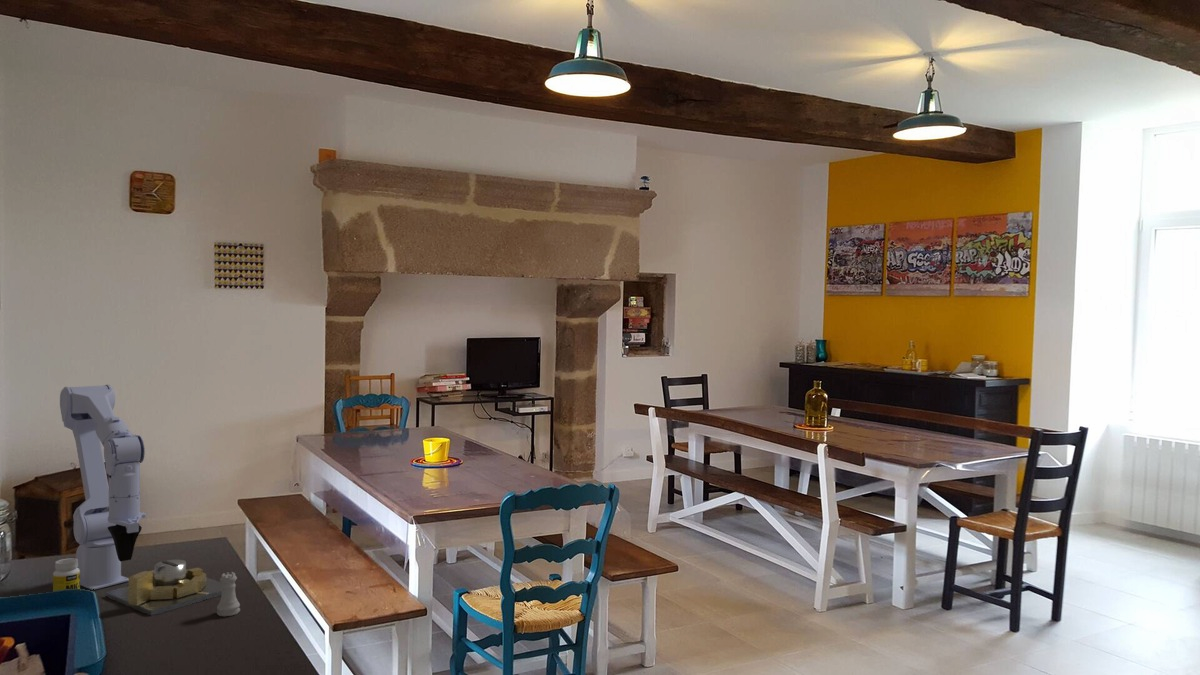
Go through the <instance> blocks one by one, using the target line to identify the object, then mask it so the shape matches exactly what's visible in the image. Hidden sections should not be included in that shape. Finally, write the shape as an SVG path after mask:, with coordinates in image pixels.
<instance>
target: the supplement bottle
mask: <svg viewBox="0 0 1200 675" xmlns="http://www.w3.org/2000/svg"><path fill="white" fill-rule="evenodd" d="M54 564H55V566H54V569H55V570H54V571H53V573H52V592H53V591H57V590H64V589H80V590H81V585H80V570H79V568H77V567H78V559H76V557H75V558H74V557H73V558H70V557H69V558H61V559H59V560H56V561H55V562H54Z"/></svg>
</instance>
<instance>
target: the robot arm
mask: <svg viewBox="0 0 1200 675" xmlns="http://www.w3.org/2000/svg"><path fill="white" fill-rule="evenodd" d="M115 404H116V395H115V390H114V388H113V387H112V385H110V384H105V385H89V386H85V385H84V386H70V387H69V386H64V387H63V388H62V389H61V391H60V395H59V408H60V415H61V420H62V421H61V422H63V427H64V428H67V429H69V430H71V431H72V434H73V437H74V440H75V446H76V447H75V448H76V451H77V457H78V458H77V459H78V463H79V469H80V475H81V482H82V487H83V488H82V489H83V493H84V498H85V500H84V501H83V502H82V503H81V504H80V505H79V506H77V507H76V508H75V510H74V513H73V515H72V518H73V526H72V528H73V529H72V530H73V536H74V539H75V541H76V543H78V544H79V546H78V547H77V548H76V551H75V559H78V567H77V568H79V570H80V587H83V588H86V589H89V590H90V591H94V590H98V589H99V590H100V589H103V588H106V587H111V586H115V585H118V584H122V583H127V582H129V577H127V576H123V575H122V562H126V561H131V560H132V558H133V553H134V549H135V545H136V542H137V539H138V536H139V535H140V533H141V531H142V528H143V527H142V526H141V525H140V523H139V522H140V521H141V519H144V518H147V513H146V512H141V463H143V462H144V460H145V455H146V451H145V450H146V449H145V444H144V440H143V438H142V436H141V435H139V434H133V433H132V432H131V430H130V429H129V427H128V425H127V424H126V422H125V421H124V419H123V418H121V417H119V416H116V414H115V412H114V408H115ZM102 446H103V449H102ZM107 475H108V476H107ZM93 589H94V590H93Z"/></svg>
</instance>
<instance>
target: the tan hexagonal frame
mask: <svg viewBox="0 0 1200 675" xmlns="http://www.w3.org/2000/svg"><path fill="white" fill-rule="evenodd" d="M206 577H207V573H205V572H203V568H200V567H193V568H189V569H187V568H186V579H184V580H181V581H177V585H174V586H155V569H152V570H149V571H148V570H143V571H140V572H137V573H136V574H133V575H130V576H128V578H129V581H128V586H129V605H136V606H137V605H140V604H142V603H144V602H146V601H149V600H155V599H173V598H174V597H176V598H179V597H183V596H186V595H190V594H193V593H197V592H198V591H201V590H202V589H203V587H204V586H205V585H206Z"/></svg>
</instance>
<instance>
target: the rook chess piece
mask: <svg viewBox="0 0 1200 675" xmlns="http://www.w3.org/2000/svg"><path fill="white" fill-rule="evenodd" d="M237 579H238V577H237V576H236V573H235V572H233V571H231V572H229V571H228V572H227V571H226V573H224V572H222V574H221V577H220V578H219V582H221V583H222V586H221V588H222V595H221V596H220V600H219V603H218V604H217V605H216V609H217V611H216V614H217V615H218V616H219V617H222V616H223V618H225V617H226V616H229V617H234V616H236V615H238V614H239V612H241V608H240V606H241V604H240V602H239V601H238V600H239V599H238V598H237V595H236V594H237V593H236V586H237V585H236V580H237ZM233 615H234V616H233Z"/></svg>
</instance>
